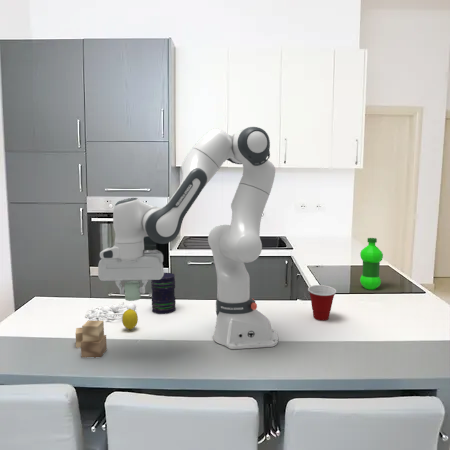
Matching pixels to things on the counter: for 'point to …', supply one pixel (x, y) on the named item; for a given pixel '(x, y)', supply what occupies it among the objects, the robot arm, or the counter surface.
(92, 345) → the tower block base
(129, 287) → the sage green cylinder
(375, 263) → the plastic bottle
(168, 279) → the storage jar
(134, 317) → the lemon
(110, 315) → the tangled rod sculpture
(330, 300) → the plastic cup
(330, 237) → the counter surface
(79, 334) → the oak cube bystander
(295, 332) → the counter surface
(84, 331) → the tower block top
